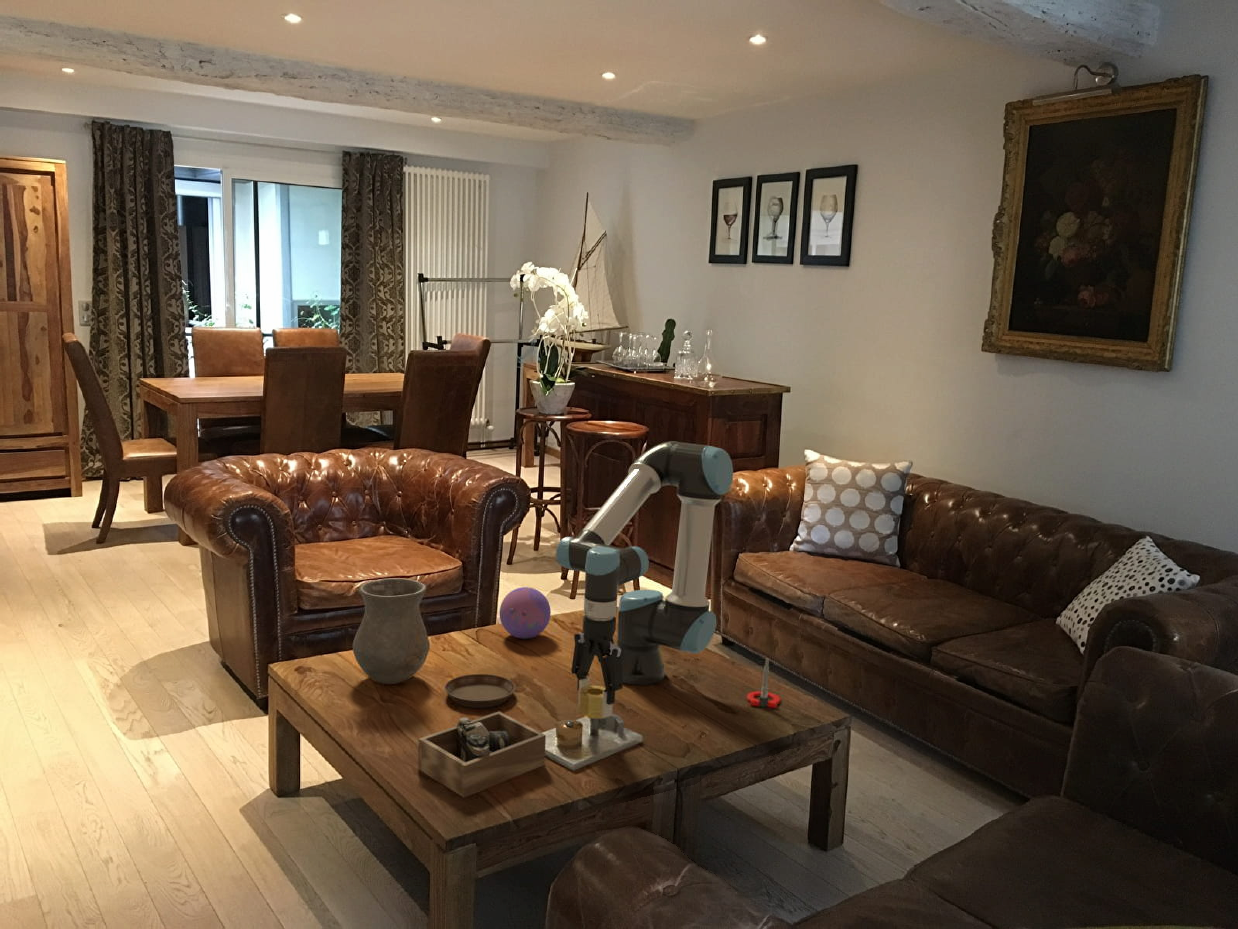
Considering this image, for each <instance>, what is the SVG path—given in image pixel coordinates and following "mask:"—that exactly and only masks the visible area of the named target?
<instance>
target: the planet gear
mask: <svg viewBox="0 0 1238 929" xmlns="http://www.w3.org/2000/svg"><path fill="white" fill-rule="evenodd" d="M605 689H606V688H605V686H602V685H591V684H590V685H589V686H586V687H583V688H580V702H579V707H578V708H579V709H578V714H579V715H580V716H583V717H587V718H597V719H601V718H602V697H603V690H605Z"/></svg>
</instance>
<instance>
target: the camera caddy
mask: <svg viewBox="0 0 1238 929" xmlns="http://www.w3.org/2000/svg"><path fill="white" fill-rule="evenodd" d="M470 722H473V724H474V723H478V722H481V723H482V724H483V726H484V727H485V728H486V729H487V731H488V732H489V731H506V732H507V733H508V735H509V738H510V742H511V746H508V747H506V748H503V749H500V750H498V751H495V752H492V753H490V754H488V755H485V756H482V757H479V758H476V759H474V760H471V761H468V762H464V761H462V760H460V759H459V758H458V755H457V725H455V726H452V727H449V728H446V729H443V730H440V731H437V732H435V733H434V732H433V733H432V734H429V735H426V736H423V737H419V738H418V757H417V758H418V760H417V764H418V766H417V767H418V768H417V769H418V770H419V772H422V773H424V774H425V775H427V776H429V778H432V779H433V780H435V781H436V782H438V783H440V784H441V785H442V786H445V787H446V788H447V789H450V790H451V791H453V792H454V793H456V794H457V795H459V796H460V797H462V798H467V797H469V796H471V795H474V794H476V793H479V792H482V791H484V790H487V789H488V788H489V789H490V788H491V787H495V786H496V785H499V784H501V783H503V782H506V781H508V780H511V779H513V778H514V779H515V778H516V777H518V776H521V775H523V774H525V773H528V772H531V771H533V770H536V769H538V768H541V767H543V766H546V764H545V762H546V761H545V760H546V756H545V743H546V735H544V734H543V732H541V731H539V730H536V729H534V728H533V727H531V726H529V725H526V724H524V723H523V722H521V721H519V720H517V719H515V718H513V717H511V716H509V715H507V714H505V713H503V712H501V711H497V712H496V711H495V712H493V713H490V714H487V715H484V716H482V717H478V718H475V719H473V720H472V719H471V720H470Z"/></svg>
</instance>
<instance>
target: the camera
mask: <svg viewBox="0 0 1238 929" xmlns="http://www.w3.org/2000/svg"><path fill="white" fill-rule="evenodd" d="M470 721H471V720H470V719H469V717H466V716H465V717H461V718H460V719H459V720H458V723H457V724H456V726H457V755H458V757H457V758H459V759H460V760H462V761H464V762H468V761H471V760H474V759H476V758H479V757H482V756H485V755H488V754H490V753H492V752H495V751H498V750H500V749H503V748H506V747H508V746H511V742H510V738H509V735H508V733H507V732H506V731H489V732H488V731H487V729H486V728H485V727H484V726H483V724H482V723H481V722H478V723H474V724H473V722H470Z"/></svg>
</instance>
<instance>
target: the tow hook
mask: <svg viewBox="0 0 1238 929" xmlns="http://www.w3.org/2000/svg"><path fill="white" fill-rule="evenodd" d="M769 660H770V659H769V658H768V657H766V658H765V663H764V664H765V665H764V668H763V678H762V686H761V689H760V690H761V691H757V690H756V691H751V692H749V693H747V694H746V696H747V697H746V698H747V701H749V702H750V706H752V707H759V708H768V709H769V708H770V709H777V705H778V704H780V702H781V698H780V697H779V696H778V695H776V694H775V693H772V692H769V687H768V685H769V684H768V683H769V671H770V670H769V669H770V666H769ZM756 697H759V699H757V698H756ZM769 698H770V699H772V700H769Z"/></svg>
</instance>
